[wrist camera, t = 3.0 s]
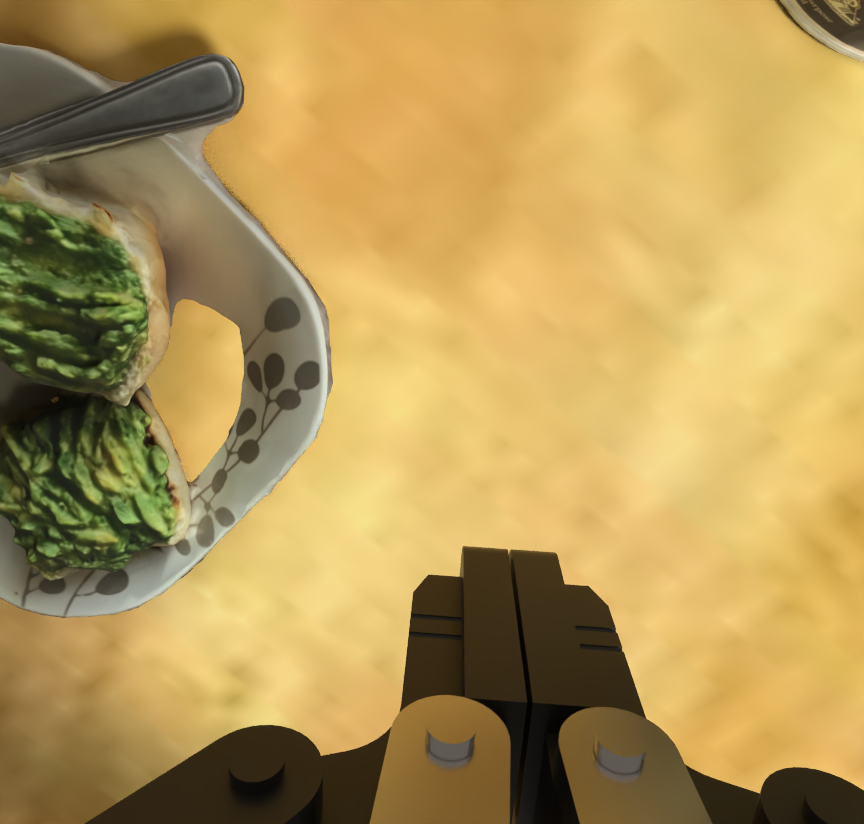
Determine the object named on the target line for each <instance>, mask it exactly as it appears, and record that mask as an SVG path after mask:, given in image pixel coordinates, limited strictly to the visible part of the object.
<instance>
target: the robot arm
mask: <svg viewBox="0 0 864 824" xmlns="http://www.w3.org/2000/svg"><path fill="white" fill-rule="evenodd" d="M85 824H864V791H863V790H862V789H860V788H859V787H857V786H855V785H854V784H852V783H850V782H848V781H846V780H844V779H842V778H840V777H837V776H835V775H832V774H829V773H827V772H823V771H819V770H816V769H809V768H798V767H793V768H785V769H782V770H778V771H776V772H774V773H773V774H771V775H770V776H769V777H768V778H767V779H766V780H765V782H764V784H763V786H762V789H761V792H760V794H759V793H756V792H753V791H750V790H747V789H744V788H741V787H738V786H735V785H732V784H729V783H726V782H723V781H720V780H717V779H714V778H711V777H709V776H706V775H703V774H701V773H699V772H697V771H695V770H693V769H691V768H690V767H688V766H686V765H685V764H684V762H683V760H682V757H681V755H680V753H679V751H678V749H677V748H676V746H675V744H674V743H673V741H672V740H671V739H670V738H669V736H668V735H667V734H666V733H665V732H664V731H663V730H661V729H660V728H659V727H658V726H656V725H655V724H654V723H652V722H651V721H649V720H647V719H646V717H645V714H644V711H643V708H642V705H641V702H640V699H639V696H638V693H637V690H636V687H635V684H634V681H633V678H632V675H631V672H630V669H629V666H628V663H627V660H626V657H625V654H624V652H622V646H621V643H620V640H619V637H618V634H617V633H616V628H615V625H614V622H613V619H612V616H611V613H610V610H609V607H608V605H607V604H606V603H605V602H604V601H603V600H602V599H601V598H600V597H599V596H598V595H597V594H596V593H595V592H594V591H593V590H592V589H591V588H590V587H589V586H579V585H565V584H564V580H563V576H562V572H561V568H560V564H559V560H558V556H557V554H556V553H553V552H539V551H525V550H510V553H509V554H508V550H507V549H495V548H482V547H468V546H463V548H462V556H461V567H460V577H453V576H439V575H428V576H427V577H426V578H425V579H424V581H423V582H422V583H421V584H420V585H419V586H418V587H417V589H416V590H415V591H414V592H413V600H412V610H411V619H410V628H409V638H408V647H407V656H406V666H405V675H404V684H403V693H402V703H401V708H400V713H399V714H398V715H397V717H396V718H395V720H394V722H393V724H392V727H391V728H390V729H389V730H388V731H387V732H386V733H385V734H383V735H382V736H381V737H379V738H378V739H377V740H375V741H373V742H371V743H369V744H367V745H365V746H362V747H360V748H357V749H353V750H349V751H345V752H340V753H335V754H329V755H324V756H321V755H320V752H319V750H318V749H317V747H316V746H315V745H314V743H313V742H312V741H311V740H310V739H308V738H307V737H306V736H304V735H303V734H301V733H300V732H297V731H295V730H293V729H290V728H286V727H282V726H274V725H259V726H252V727H247V728H243V729H239V730H237V731H234V732H232V733H229V734H227V735H225V736H223V737H222V738H220V739H218V740H216V741H215V742H213V743H212V744H210V745H208V746H207V747H205V748H204V749H202V750H201V751H199V752H197V753H196V754H194V755H193V756H191V757H189V758H188V759H186V760H185V761H183V762H182V763H180V764H178V765H177V766H175V767H174V768H172V769H170V770H169V771H167V772H166V773H164V774H163V775H161V776H159V777H158V778H156V779H155V780H153V781H151V782H150V783H148V784H147V785H145V786H144V787H142V788H140V789H139V790H137V791H136V792H134V793H132V794H131V795H129V796H128V797H126V798H125V799H123V800H121V801H120V802H118V803H117V804H115V805H113V806H112V807H110V808H109V809H107V810H106V811H104V812H102V813H101V814H99V815H98V816H96V817H94V818H93V819H91V820H90V821H88V822H87V823H85Z"/></svg>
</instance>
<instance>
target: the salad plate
mask: <svg viewBox="0 0 864 824" xmlns="http://www.w3.org/2000/svg"><path fill="white" fill-rule="evenodd" d="M243 104H244V85H243V82H242V79H241V75H240V73H239V71H238V69H237V67H236V65H235V64H234V62H233V61H232V60H231V59H229V58H228V57H225V56H222V55H219V54H206V55H200V56H195V57H192V58H190V59H187V60H184V61H181V62H179V63H176V64H173V65H171V66H168V67H166V68H163V69H161V70H158V71H156V72H154V73H151V74H149V75H147V76H145V77H142V78H140V79H138V80H136V81H130V82H120V81H115V80H111V79H109V78H107V77H105V76H103V75H101V74H99V73H97V72H95V71H90V70H87V69H86V68H84V67H83V66H81V65H79V64H78V63H76V62H73V61H71V60H70V59H68V58H66V57H63V56H60V55H57V54H54V53H53V52H52V51H50V50H47V49H40V48H34V47H28V46H19V45H10V44H4V43H0V598H1V599H3V600H5V601H7V602H9V603H11V604H13V605H14V606H16V607H18V608H21V609H23V610H27V611H31V612H34V613H38V614H41V615H48V616H55V617H63V618H65V617H91V616H101V615H114V614H118V613H121V612H124V611H129V610H132V609H135V608H138V607H140V606H141V605H143V604H144V603H146V602H148V601H149V600H151V599H153V598H154V597H157V596H159V595H161V594H162V593H164V592H165V591H166V590H167V589H169V588H170V587H171V586H172V585H173V584H175V583H176V582H177V581H178V580H179V579H181V578H182V577H184V576H185V575H186V574H187V573H189V572H190V571H191V570H192V569H193V567H194V566H195V565H197V564H198V563H199V562H201V561H202V560H203V559H204V557H205V556H206V555H207V553H208V552H209V551H210V550H211V549H212V548H213V547H214V546H215V545H216V544H217V542H218V541H219V540H220V539H221V538H223V537H224V536H225V535H226V534H227V533H228V532H229V531H230V530H231V529H232V528H233V527H234V526H235V525H236V524H237V523H238V522H239V521H240V520H241V519H242V518H243V517H244V516H245V515H246V514H247V513H248V512H249V511H250V510H251V508H252V507H253V506H254V505H255V504H256V503H258V502H259V501H260V500H261V499H262V498H264V497H265V496H267V495H268V494H270V492H271V491H272V490H273V488H274V487H275V485H276V483H277V482H279V481H281V480H282V478H283V477H284V476H285V475H286V473H287V472H288V471H289V470H290V468H291V467H292V466H293V465H294V463H295V462H296V461H297V460H298V458H299V457H300V456H301V455H302V454H303V453H304V452H305V450H306V449H307V448H308V446H309V445H310V444H311V443H312V442H313V441H314V439H315V438H316V437H317V433H318V430H319V427H320V424H321V423H322V421H323V415H324V410H325V406H326V402H327V398H328V396H329V394H330V391H331V387H332V384H333V378H332V371H331V347H330V337H329V319H328V316H327V311H326V307H325V306H324V304H323V302H322V301H321V299H320V298H319V296H318V295H317V293H316V292H315V290H314V288H313V287H312V285H311V284H310V282H309V281H308V279H307V278H306V277H305V276H304V275H303V274H302V273H301V272H300V270H299V269H298V268H297V267H296V266H295V265H294V264H293V262H292V261H291V260H290V259H289V258H288V257H287V256H286V255H285V254H284V252H283V251H282V249H281V248H280V247H279V245H278V244H277V243H276V241H275V240H274V239H273V238H272V237H271V235H270V234H269V233H268V232H267V231H266V230H265V229H264V228H263V227H262V225H261V224H260V222H259V221H258V220H257V219H256V218H254V217H253V216H252V215H251V214H250V213H249V212H248V211H247V210H246V209H244V208H243V207H242V206H241V204H240V203H239V202H238V201H237V200H236V199H235V198H234V197H232V196H231V195H230V193H229V192H228V191H227V190H226V188H225V187H224V185H223V184H222V182H221V181H220V179H219V178H218V177H217V175H216V174H215V173H214V171H213V170H212V169H211V167H210V166H209V165H208V163H207V162H206V160H205V157H204V155H203V152H202V151H203V146H202V143H203V142H204V140H205V138H206V137H207V136H208V135H209V134H210V133H211V132H212V131H213V130H214V129H215V128H216V127H217V126H220V125H223V124H225V123H228V122H230V121H231V120H232V119H233V118H234V117H235V116H236V115H237V113H238V112H239V111H240V110H241V108H242V107H243ZM183 298H184V299H189V300H194V301H196V302H198V303H200V304H202V305H205V306H208V307H210V308H212V309H214V310H215V311H217V312H218V313H220V314H221V315H223V316H224V317H226V318H228V319H229V320H231V321H233V322H234V323H235V324H236V325H237V326H238V327H239V328H240V334H241V341H242V348H243V354H244V378H243V381H242V393H241V404H240V407H239V410H238V414H237V416H236V419H235V422H234V424H233V426H232V427H231V429H230V430H229V435H228V438H227V440H226V441H225V443H224V444H223V445H222V447H221V448H220V450H219V451H218V452H217V453H216V454H215V455H214V457H213V458H212V460H211V461H210V463H209V464H208V465H207V466H206V468H205V469H204V470H203V471H202V472H201V473H200V475H199V476H198V477H197V478H196V479H195V480H194V481H193V482H187V481H186V478H185V474H184V471H183V468H182V465H181V459H180V457H179V455H178V453H177V451H176V449H175V448H174V444H173V440H172V438H171V436H170V434H169V432H168V430H167V428H166V426H165V424H164V423H163V421H162V419H161V417H160V416H159V414H158V412H157V411H156V409H155V407H154V404H153V402H152V399H151V394H150V391H149V389H148V387H147V385H146V381H147V379H148V378H149V377H150V375H151V374H152V372H153V371H154V370H155V368H156V367H157V365H158V364H159V363H160V361H161V360H162V358H163V356H164V354H165V352H166V350H167V347H168V344H169V338H170V327H171V326H172V317H173V312H174V308H175V305H176V303H177V302H178V301H180V300H182V299H183ZM56 396H59V399H58V402H57V403H52V402H51V400H50V399H52V398H54V397H56Z"/></svg>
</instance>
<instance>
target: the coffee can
mask: <svg viewBox="0 0 864 824" xmlns="http://www.w3.org/2000/svg"><path fill="white" fill-rule="evenodd" d="M780 2H781V3H782V5H783V6H784V7H785V9H786V10H787V11H788V13H789V14H790V15H791V16H792V18H793V19H794V20H795V21H796V22H797V23H798V24H799V25H800V26H801V27H802V28H803V29H804V30H805V31H806V32H807V33H809V34H810V35H811V36H813V37H814V38H816V39H817V40H819V41H820V42H822V43H823V44H825V45H826V46H828V47H829V48H831V49H833V50H835V51H837V52H839V53H841V54H844V55H846V56H849V57H851V58H854V59H856V60H859V61H864V0H780Z"/></svg>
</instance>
